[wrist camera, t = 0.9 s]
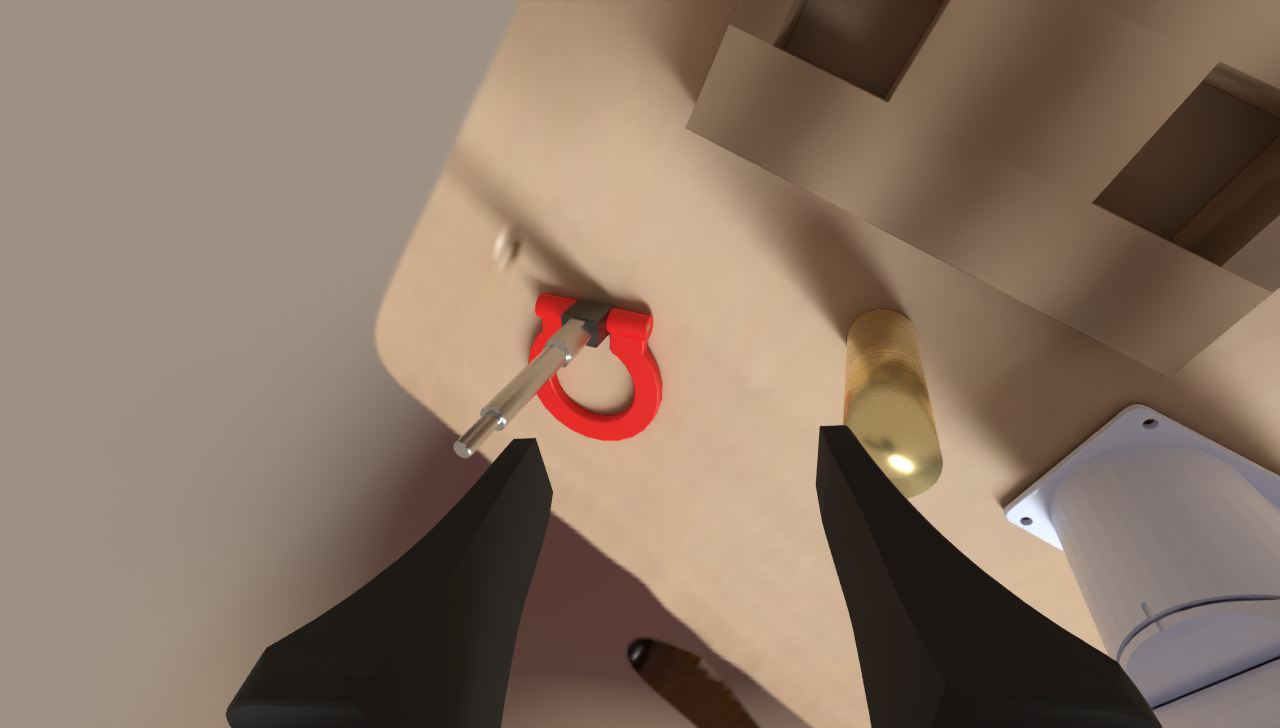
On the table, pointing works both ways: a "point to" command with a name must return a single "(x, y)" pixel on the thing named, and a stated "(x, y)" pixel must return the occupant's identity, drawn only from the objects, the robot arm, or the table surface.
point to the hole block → (1028, 152)
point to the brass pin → (891, 400)
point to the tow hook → (557, 347)
